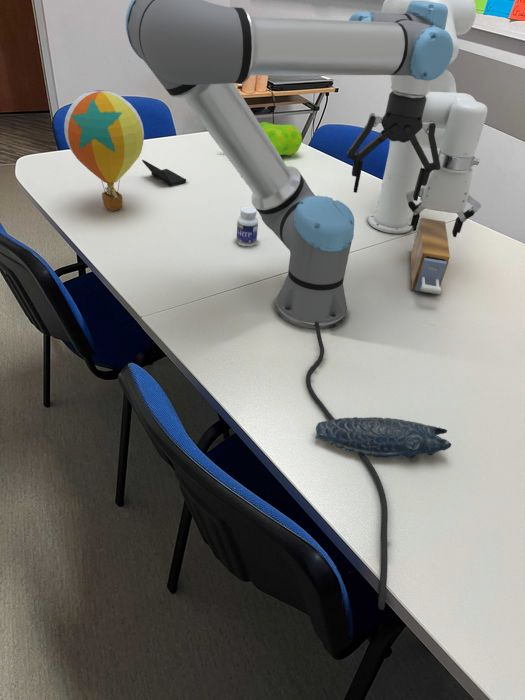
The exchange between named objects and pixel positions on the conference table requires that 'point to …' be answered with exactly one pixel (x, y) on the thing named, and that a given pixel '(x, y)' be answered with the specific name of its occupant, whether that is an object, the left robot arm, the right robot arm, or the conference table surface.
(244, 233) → the pill bottle
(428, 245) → the tan wooden box
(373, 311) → the conference table surface
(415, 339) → the conference table surface
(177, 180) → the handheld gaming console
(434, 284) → the drawer
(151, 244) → the conference table surface
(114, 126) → the toy
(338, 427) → the fish model
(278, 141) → the decorative tree
